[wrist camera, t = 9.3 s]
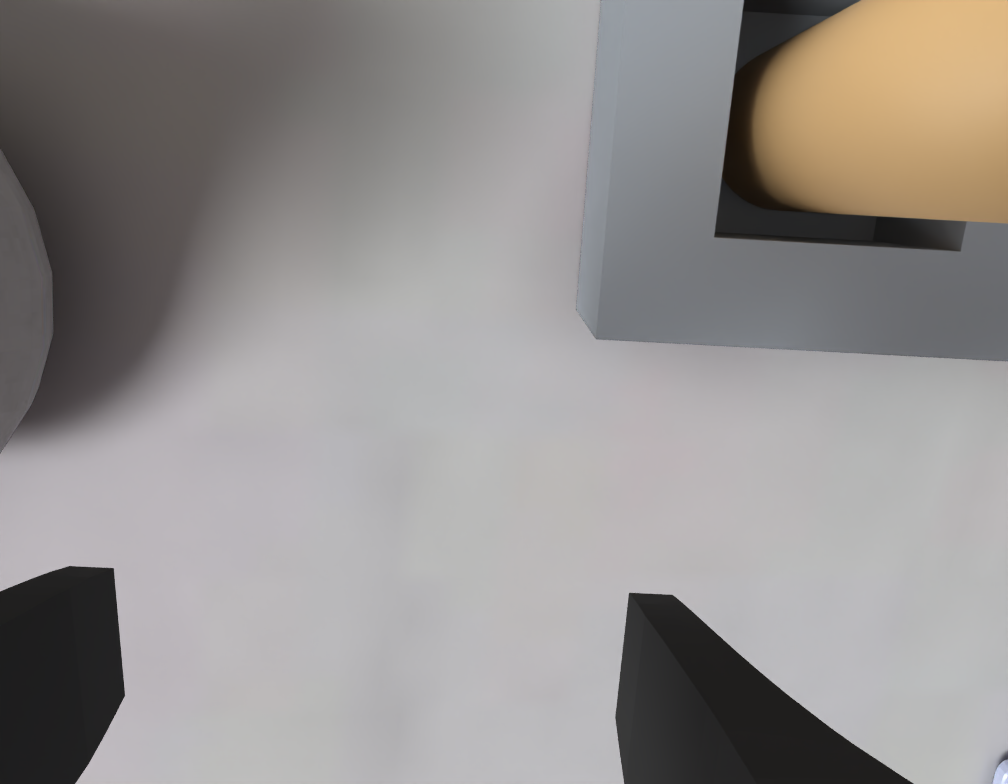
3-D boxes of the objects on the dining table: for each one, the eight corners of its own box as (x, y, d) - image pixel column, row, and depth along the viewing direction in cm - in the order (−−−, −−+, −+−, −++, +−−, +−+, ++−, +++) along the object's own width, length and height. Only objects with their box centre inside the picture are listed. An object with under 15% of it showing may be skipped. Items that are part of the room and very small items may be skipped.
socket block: (1011, -71, 16) (1168, -153, 13) (929, 328, 19) (1041, 363, 15) (608, -97, 16) (642, -189, 12) (575, 309, 19) (595, 339, 15)
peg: (880, 50, 17) (1352, -129, 7) (852, 214, 18) (1240, 237, 8) (721, 40, 17) (999, -154, 7) (701, 205, 17) (925, 218, 8)
